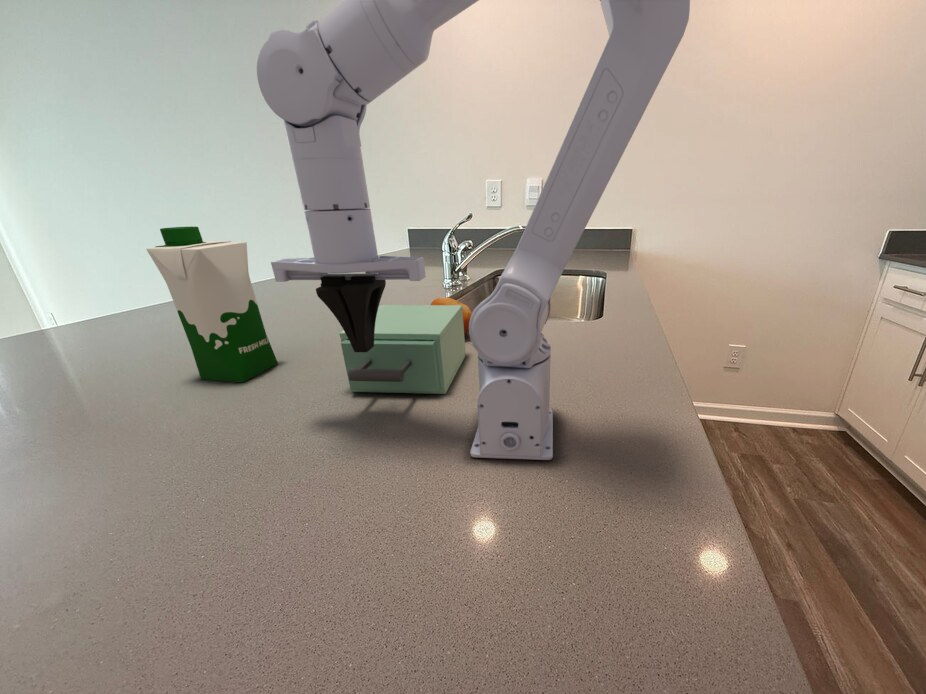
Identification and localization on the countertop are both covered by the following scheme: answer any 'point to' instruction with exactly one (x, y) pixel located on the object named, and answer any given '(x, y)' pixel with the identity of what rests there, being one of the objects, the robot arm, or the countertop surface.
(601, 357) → the countertop surface
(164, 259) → the milk carton
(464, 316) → the fruit
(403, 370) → the drawer
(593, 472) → the countertop surface
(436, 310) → the green cabinet
